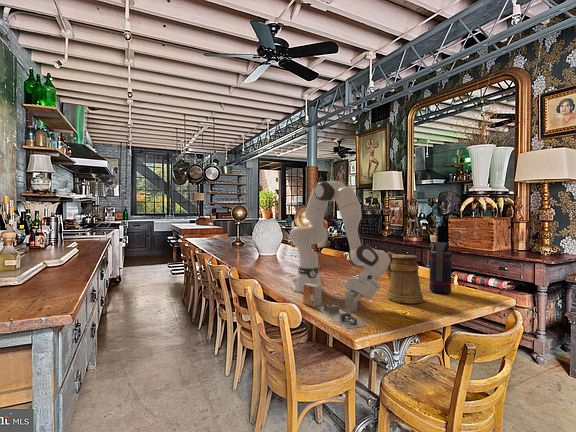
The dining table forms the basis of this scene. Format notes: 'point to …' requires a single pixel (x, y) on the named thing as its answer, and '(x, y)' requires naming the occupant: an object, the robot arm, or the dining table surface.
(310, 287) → the small box
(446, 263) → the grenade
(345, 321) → the grey long flat board
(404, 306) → the dining table surface
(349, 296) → the mini drawer chest
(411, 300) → the tankard
